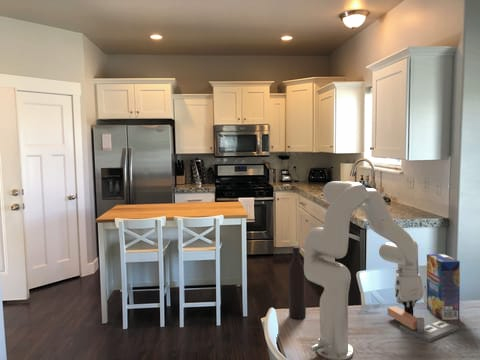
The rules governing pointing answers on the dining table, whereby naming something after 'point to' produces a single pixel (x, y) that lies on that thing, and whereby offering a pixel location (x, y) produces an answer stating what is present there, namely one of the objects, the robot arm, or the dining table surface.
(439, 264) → the juice carton
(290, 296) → the wine bottle
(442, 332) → the label board
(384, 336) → the dining table surface
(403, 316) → the swing bar
